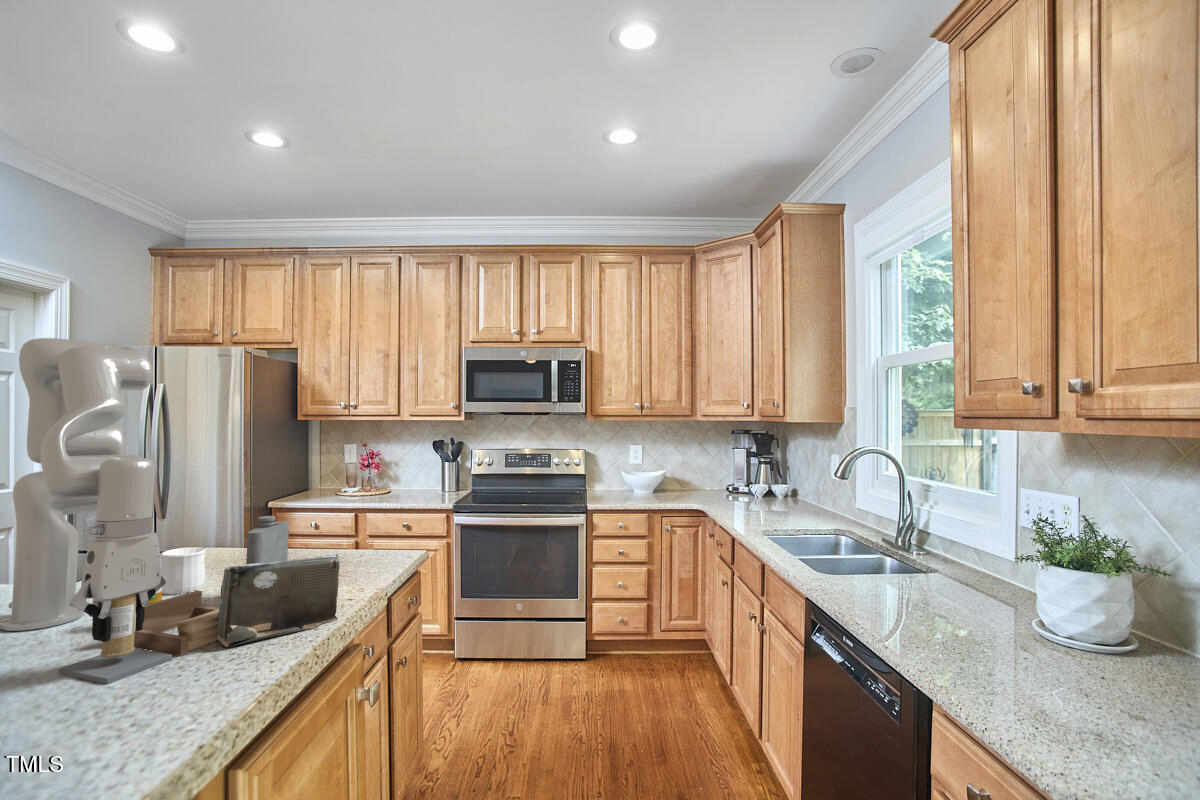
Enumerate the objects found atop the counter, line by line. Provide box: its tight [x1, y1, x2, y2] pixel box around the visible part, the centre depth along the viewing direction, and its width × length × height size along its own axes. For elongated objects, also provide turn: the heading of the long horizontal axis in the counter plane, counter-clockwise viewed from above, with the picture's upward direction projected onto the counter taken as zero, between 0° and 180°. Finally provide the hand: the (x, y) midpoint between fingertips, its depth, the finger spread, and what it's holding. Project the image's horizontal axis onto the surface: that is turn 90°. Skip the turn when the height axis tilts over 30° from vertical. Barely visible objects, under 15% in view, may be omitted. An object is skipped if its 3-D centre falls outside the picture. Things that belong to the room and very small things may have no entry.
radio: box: [216, 554, 341, 648], centre depth 114 cm, size 23×9×15 cm, turn 134°
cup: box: [160, 546, 207, 595], centre depth 141 cm, size 10×10×10 cm
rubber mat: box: [58, 648, 173, 685], centre depth 96 cm, size 12×10×1 cm
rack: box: [134, 590, 220, 657], centre depth 110 cm, size 17×15×6 cm
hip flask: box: [245, 515, 290, 565], centre depth 133 cm, size 16×4×20 cm, turn 6°
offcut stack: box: [176, 610, 219, 652], centre depth 108 cm, size 4×11×4 cm, turn 162°
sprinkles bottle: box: [99, 594, 136, 658], centre depth 96 cm, size 5×5×14 cm
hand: (118, 633), depth 96 cm, fingers closed on sprinkles bottle, 4 cm apart
